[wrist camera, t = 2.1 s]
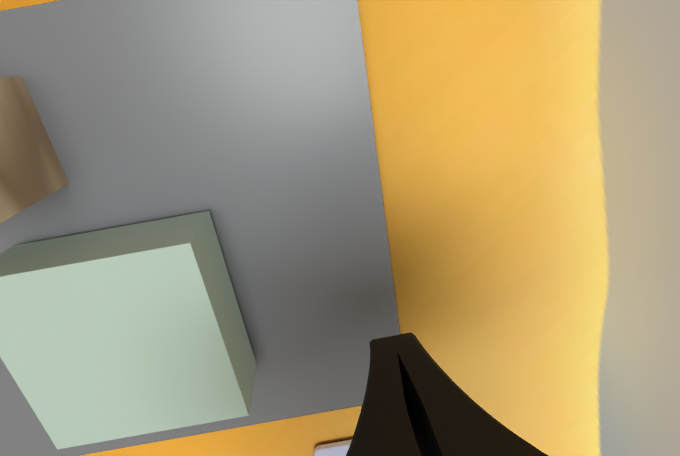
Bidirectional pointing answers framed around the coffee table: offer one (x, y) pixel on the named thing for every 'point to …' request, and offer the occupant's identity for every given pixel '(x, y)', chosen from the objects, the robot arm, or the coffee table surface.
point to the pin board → (219, 176)
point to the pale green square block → (125, 331)
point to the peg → (24, 152)
